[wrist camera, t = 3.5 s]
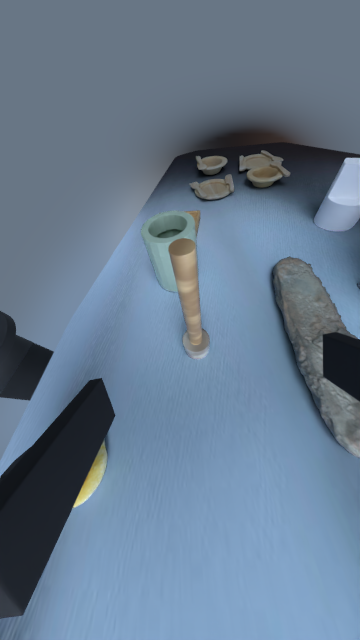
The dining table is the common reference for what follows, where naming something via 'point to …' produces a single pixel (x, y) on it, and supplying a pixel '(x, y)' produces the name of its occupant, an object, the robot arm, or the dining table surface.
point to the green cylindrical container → (166, 242)
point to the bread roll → (93, 476)
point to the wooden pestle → (189, 296)
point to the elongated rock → (316, 345)
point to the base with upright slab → (342, 199)
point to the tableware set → (259, 165)
